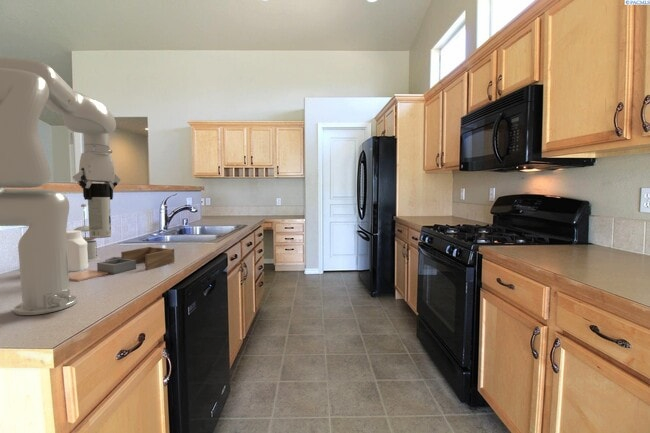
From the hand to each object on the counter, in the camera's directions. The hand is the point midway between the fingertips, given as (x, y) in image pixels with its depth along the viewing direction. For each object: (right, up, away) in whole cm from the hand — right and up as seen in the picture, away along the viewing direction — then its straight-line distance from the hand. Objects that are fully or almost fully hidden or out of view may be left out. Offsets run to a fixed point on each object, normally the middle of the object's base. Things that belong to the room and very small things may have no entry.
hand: (98, 199), depth 114 cm
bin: (+2, -28, +7) cm, 28 cm away
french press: (-23, -26, +23) cm, 42 cm away
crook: (-4, -26, +22) cm, 34 cm away
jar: (-17, -28, +7) cm, 33 cm away
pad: (-4, -28, -2) cm, 28 cm away
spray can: (0, -14, +1) cm, 14 cm away
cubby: (+9, -27, +16) cm, 33 cm away
